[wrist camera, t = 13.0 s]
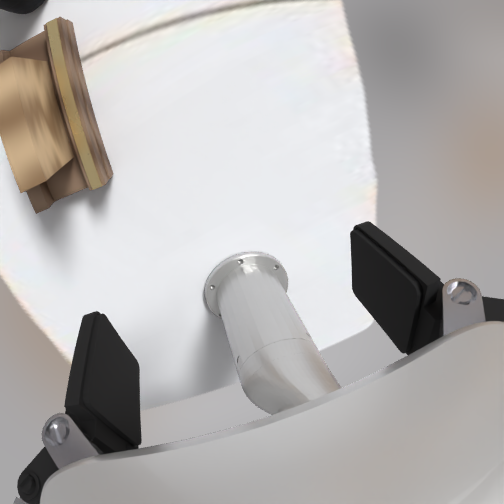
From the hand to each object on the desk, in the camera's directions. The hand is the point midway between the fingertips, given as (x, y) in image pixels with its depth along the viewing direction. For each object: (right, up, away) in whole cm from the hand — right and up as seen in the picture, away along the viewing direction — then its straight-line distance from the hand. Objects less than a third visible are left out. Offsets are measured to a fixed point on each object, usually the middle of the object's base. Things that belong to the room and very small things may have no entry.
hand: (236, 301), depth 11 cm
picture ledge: (-22, +18, +16) cm, 33 cm away
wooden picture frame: (-22, +17, +14) cm, 31 cm away
